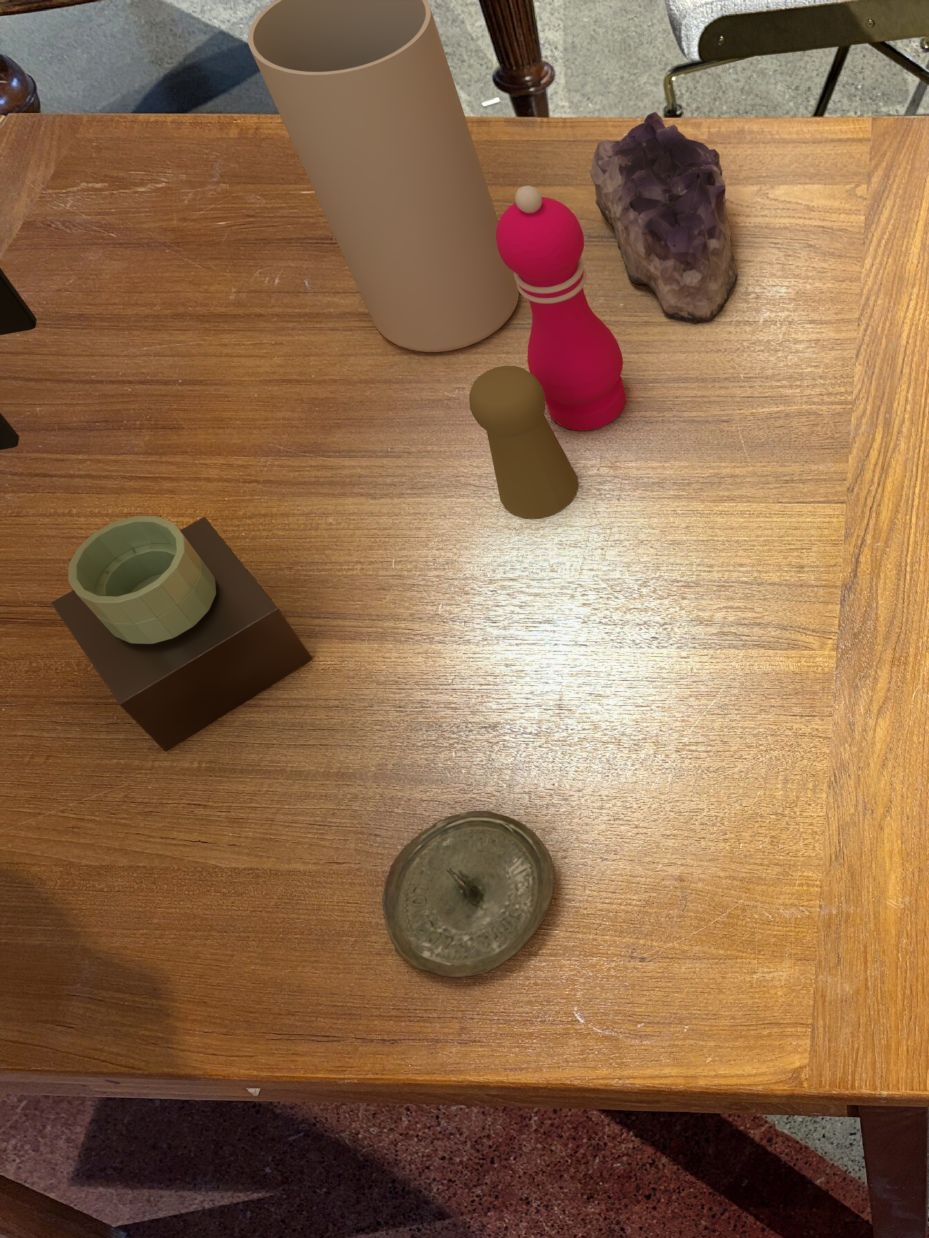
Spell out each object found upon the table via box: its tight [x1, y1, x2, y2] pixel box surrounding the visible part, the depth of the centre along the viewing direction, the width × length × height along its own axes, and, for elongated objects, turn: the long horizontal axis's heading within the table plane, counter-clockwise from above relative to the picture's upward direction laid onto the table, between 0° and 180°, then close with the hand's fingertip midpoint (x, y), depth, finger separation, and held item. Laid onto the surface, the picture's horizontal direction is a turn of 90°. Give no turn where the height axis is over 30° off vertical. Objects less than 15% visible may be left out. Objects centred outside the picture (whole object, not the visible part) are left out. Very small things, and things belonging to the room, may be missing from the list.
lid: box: [381, 810, 555, 980], centre depth 77 cm, size 11×10×5 cm
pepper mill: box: [496, 185, 627, 432], centre depth 95 cm, size 7×7×20 cm
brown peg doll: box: [468, 365, 580, 520], centre depth 93 cm, size 6×6×11 cm
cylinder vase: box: [247, 0, 520, 353], centre depth 99 cm, size 12×12×25 cm
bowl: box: [67, 515, 216, 644], centre depth 83 cm, size 7×7×5 cm
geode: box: [589, 111, 739, 324], centre depth 110 cm, size 20×12×10 cm, turn 22°
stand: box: [50, 516, 314, 752], centre depth 87 cm, size 11×11×6 cm
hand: (0, 387), depth 73 cm, fingers open, 9 cm apart
